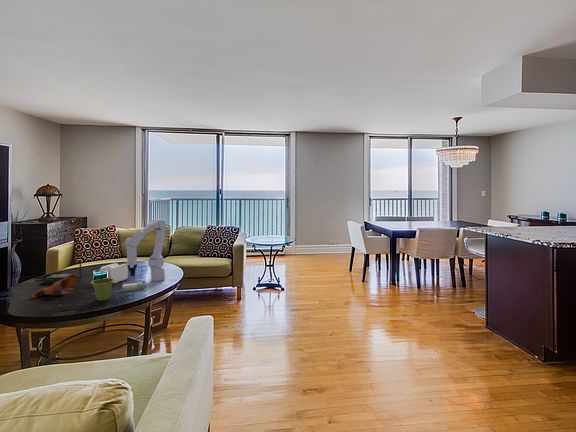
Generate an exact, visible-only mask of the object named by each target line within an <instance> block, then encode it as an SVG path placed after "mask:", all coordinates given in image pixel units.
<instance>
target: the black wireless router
mask: <svg viewBox="0 0 576 432" xmlns="http://www.w3.org/2000/svg"><path fill="white" fill-rule="evenodd" d="M71 274H72V273H57V274H54V273H53V274H51V275H49V276H47V277H46V278H44V281H45V282H44V283H45V284H53V283H55V282H58V281H61V280H62V279H64V278H65V277H67V276H69V275H71ZM73 274H74V275H76V277H77V278H78V279H79V280H82V279H83V273H82V263H81V256H79V276H78V273H75V272H74V273H73Z"/></svg>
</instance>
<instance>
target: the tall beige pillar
mask: <svg viewBox="0 0 576 432" xmlns="http://www.w3.org/2000/svg"><path fill="white" fill-rule="evenodd" d="M136 282H137V281H136ZM122 286H123V288H125V289H132V288H141V286H143V283H142V282H137V283H133V284H124V285H123V284H122Z"/></svg>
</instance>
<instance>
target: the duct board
mask: <svg viewBox="0 0 576 432" xmlns="http://www.w3.org/2000/svg"><path fill="white" fill-rule="evenodd" d="M137 282H142V283H143V286H141V288H132V289H125V288H123V285H124V284H133V283H137ZM145 287H146V280H140V281H139V280H138V281H129V282H122V286H121V289H120V293H127V292H136V291H144V290H145Z"/></svg>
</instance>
